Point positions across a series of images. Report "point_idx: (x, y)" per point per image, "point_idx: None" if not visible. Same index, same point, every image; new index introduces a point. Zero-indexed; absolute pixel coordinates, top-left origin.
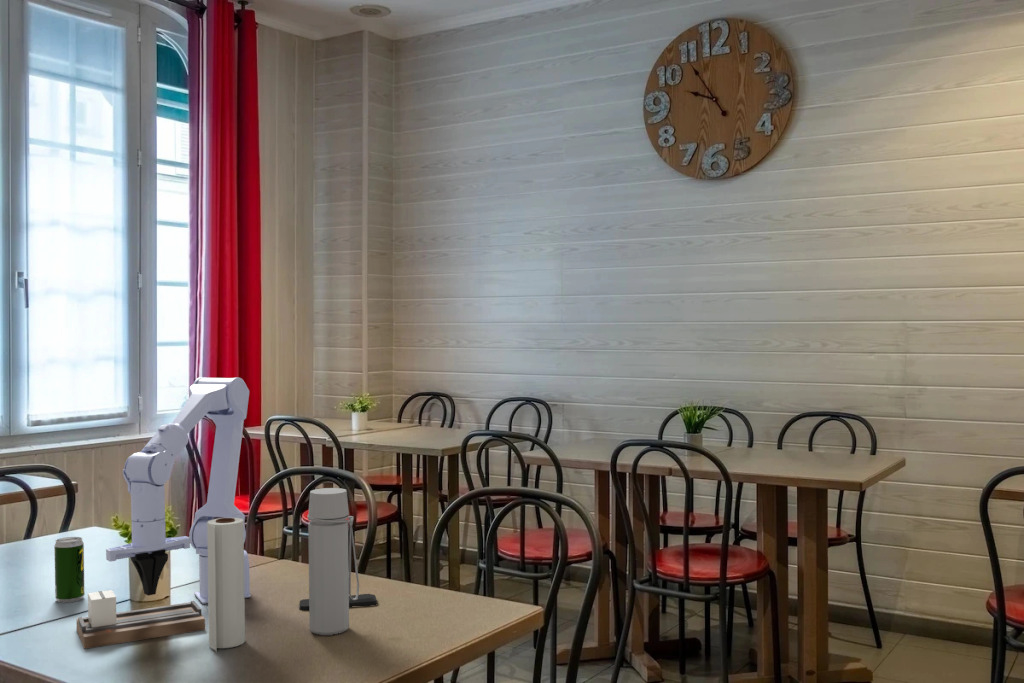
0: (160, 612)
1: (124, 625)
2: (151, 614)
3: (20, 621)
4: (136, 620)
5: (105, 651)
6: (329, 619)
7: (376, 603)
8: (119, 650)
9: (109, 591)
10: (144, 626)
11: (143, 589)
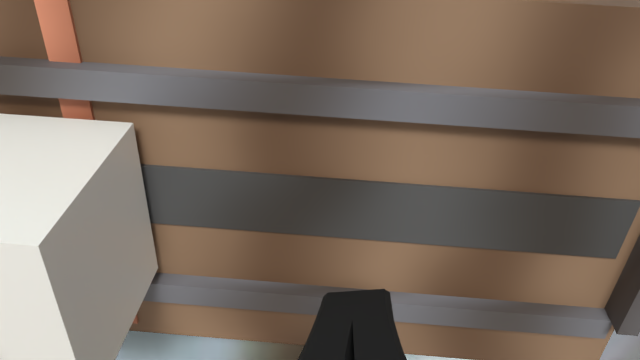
0: (449, 153)
1: (198, 300)
2: (384, 163)
3: None
4: (274, 231)
5: (134, 340)
6: None
7: None
8: (185, 355)
9: (21, 271)
10: (295, 328)
11: (317, 315)
